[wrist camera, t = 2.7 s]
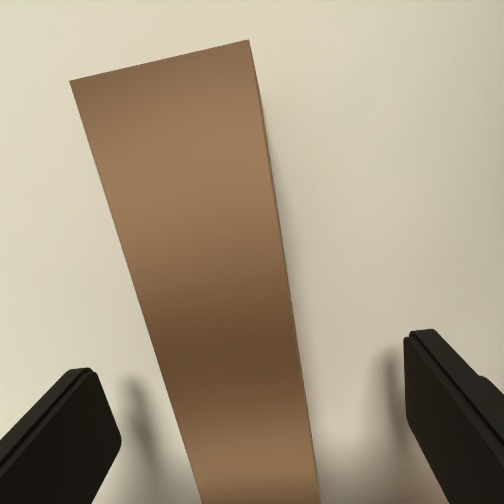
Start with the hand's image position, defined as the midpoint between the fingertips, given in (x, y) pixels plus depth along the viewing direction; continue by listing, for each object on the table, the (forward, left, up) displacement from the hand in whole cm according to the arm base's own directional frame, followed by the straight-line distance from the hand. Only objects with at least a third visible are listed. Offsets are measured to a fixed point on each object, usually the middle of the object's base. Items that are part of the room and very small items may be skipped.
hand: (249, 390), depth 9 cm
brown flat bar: (0, 0, -2) cm, 2 cm away
